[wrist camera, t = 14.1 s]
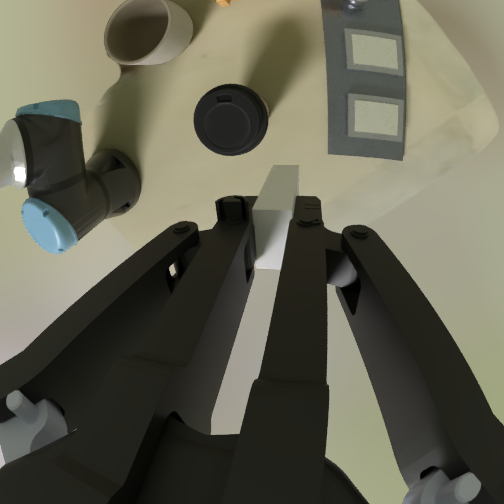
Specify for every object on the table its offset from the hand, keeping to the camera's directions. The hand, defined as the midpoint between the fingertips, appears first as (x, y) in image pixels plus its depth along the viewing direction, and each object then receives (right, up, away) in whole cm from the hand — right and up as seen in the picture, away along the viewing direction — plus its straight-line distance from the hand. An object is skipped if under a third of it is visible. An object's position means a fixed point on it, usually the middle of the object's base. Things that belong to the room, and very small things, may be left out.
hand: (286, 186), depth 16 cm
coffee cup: (-2, +19, +26) cm, 32 cm away
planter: (-17, +35, +20) cm, 43 cm away
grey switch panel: (+16, +25, +18) cm, 34 cm away
